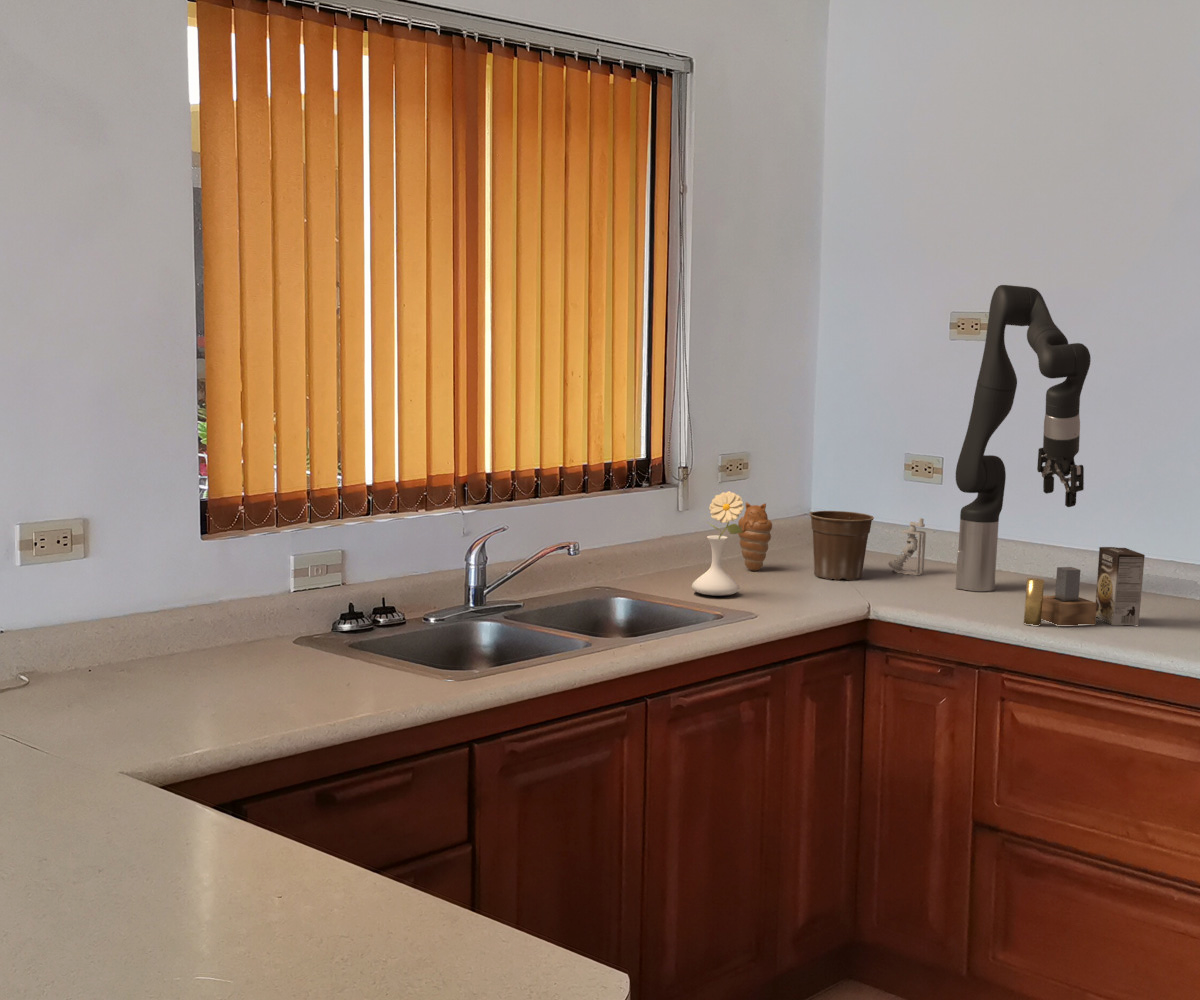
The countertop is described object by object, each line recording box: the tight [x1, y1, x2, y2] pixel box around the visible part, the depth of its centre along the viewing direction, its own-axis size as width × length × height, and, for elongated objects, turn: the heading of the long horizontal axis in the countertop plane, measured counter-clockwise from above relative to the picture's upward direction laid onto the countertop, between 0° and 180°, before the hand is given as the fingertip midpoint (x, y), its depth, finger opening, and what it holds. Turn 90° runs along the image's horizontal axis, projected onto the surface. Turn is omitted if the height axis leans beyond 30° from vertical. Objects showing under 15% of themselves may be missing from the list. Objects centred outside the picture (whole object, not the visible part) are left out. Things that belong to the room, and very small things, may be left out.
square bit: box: [1054, 566, 1081, 602], centre depth 291 cm, size 4×4×12 cm
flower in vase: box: [691, 490, 745, 597], centre depth 311 cm, size 13×11×25 cm
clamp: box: [887, 517, 927, 576], centre depth 347 cm, size 4×10×15 cm, turn 54°
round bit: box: [1023, 577, 1045, 625], centre depth 288 cm, size 4×4×10 cm
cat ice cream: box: [737, 502, 773, 572], centre depth 344 cm, size 9×8×18 cm
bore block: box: [1041, 595, 1097, 625], centre depth 292 cm, size 9×9×5 cm
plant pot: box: [809, 510, 875, 581], centre depth 339 cm, size 16×16×16 cm
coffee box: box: [1095, 546, 1146, 626], centre depth 293 cm, size 9×6×16 cm
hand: (1059, 499), depth 296 cm, fingers open, 8 cm apart
